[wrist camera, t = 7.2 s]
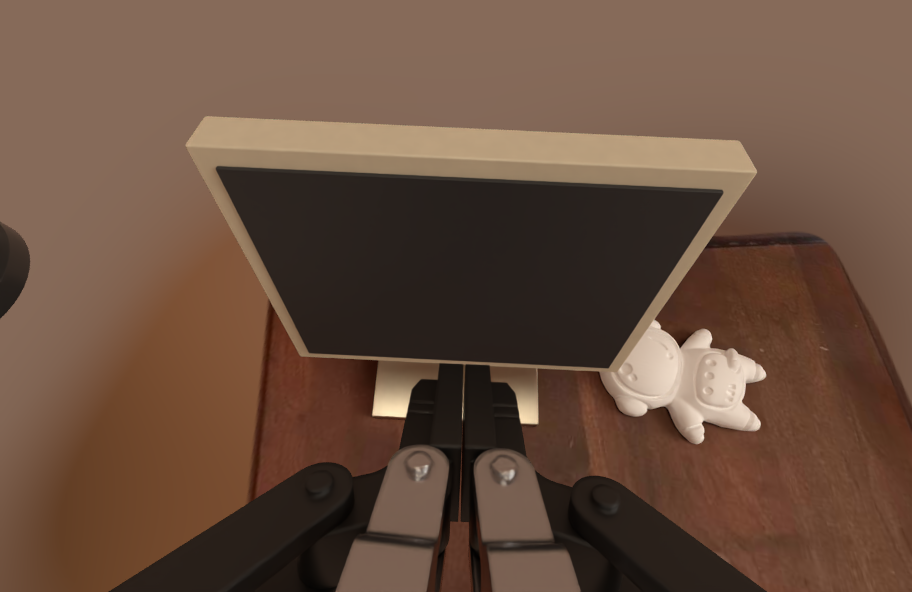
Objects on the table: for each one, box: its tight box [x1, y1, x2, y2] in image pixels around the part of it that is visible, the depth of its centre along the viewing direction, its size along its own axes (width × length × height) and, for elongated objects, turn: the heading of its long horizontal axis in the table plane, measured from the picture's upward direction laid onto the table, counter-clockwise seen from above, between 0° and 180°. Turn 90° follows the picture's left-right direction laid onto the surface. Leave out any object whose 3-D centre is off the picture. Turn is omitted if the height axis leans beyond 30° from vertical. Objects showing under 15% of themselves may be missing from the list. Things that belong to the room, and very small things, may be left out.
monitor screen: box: [185, 116, 757, 372], centre depth 19 cm, size 2×17×13 cm, turn 88°
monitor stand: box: [372, 360, 539, 427], centre depth 28 cm, size 9×12×12 cm
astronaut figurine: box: [599, 320, 766, 444], centre depth 32 cm, size 9×12×3 cm
